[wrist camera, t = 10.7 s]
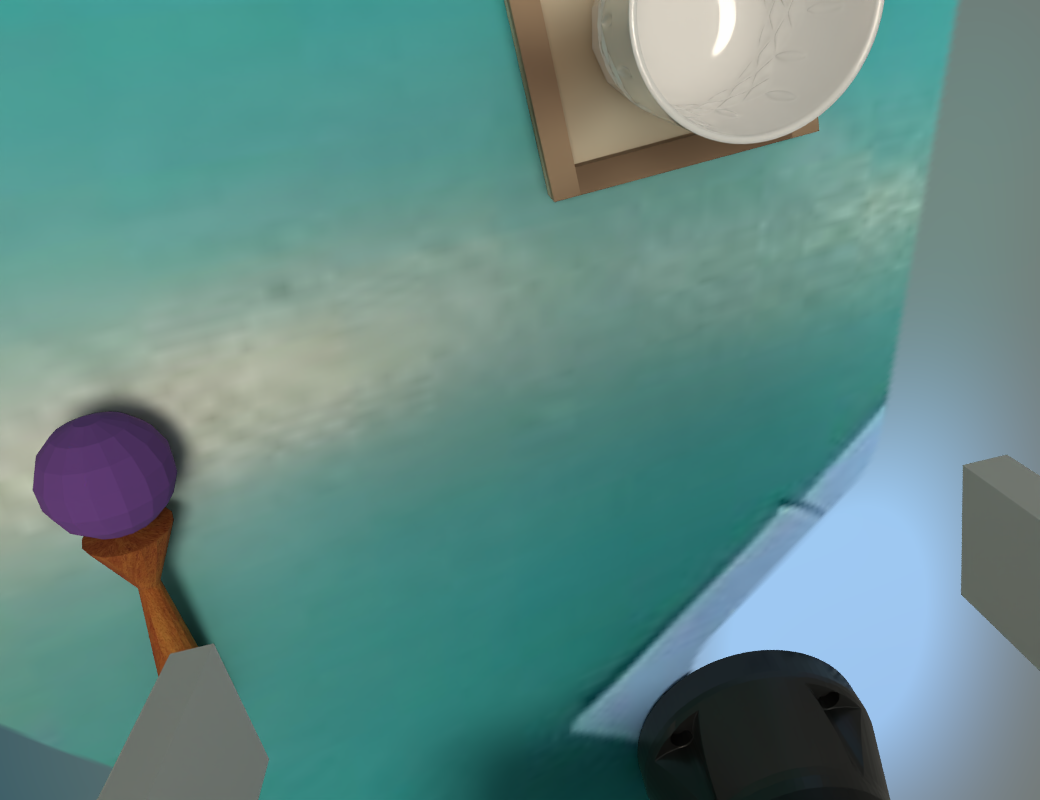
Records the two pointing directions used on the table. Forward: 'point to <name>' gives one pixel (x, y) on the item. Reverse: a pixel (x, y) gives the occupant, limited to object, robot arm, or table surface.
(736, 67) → the white cup
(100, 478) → the kendama
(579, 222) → the table surface
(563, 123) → the wooden divided tray
